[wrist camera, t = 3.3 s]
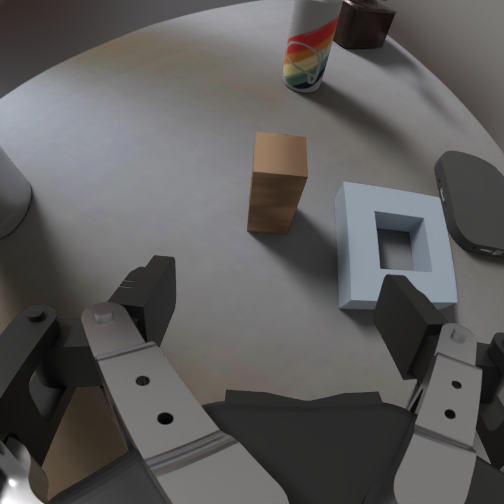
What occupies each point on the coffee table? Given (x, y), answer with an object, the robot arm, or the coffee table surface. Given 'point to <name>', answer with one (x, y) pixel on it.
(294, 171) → the peg
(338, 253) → the socket
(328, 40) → the lotion bottle
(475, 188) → the media streaming box
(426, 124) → the coffee table surface
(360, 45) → the manual coffee grinder
